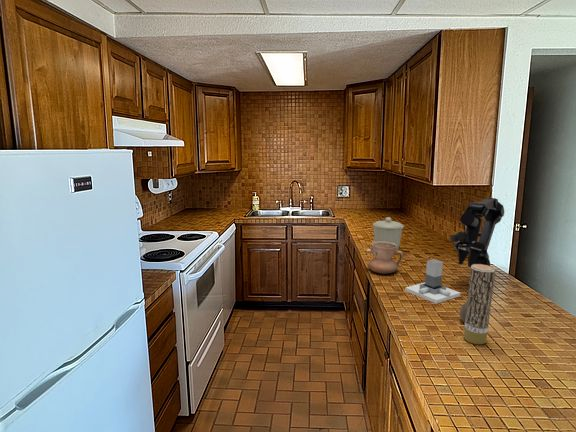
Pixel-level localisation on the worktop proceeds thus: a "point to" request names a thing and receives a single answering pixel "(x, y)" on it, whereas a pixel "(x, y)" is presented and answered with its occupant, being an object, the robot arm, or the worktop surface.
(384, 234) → the canister
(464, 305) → the vase
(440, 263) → the silver metal block
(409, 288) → the plate
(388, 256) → the ceramic jug
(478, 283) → the bark covered log
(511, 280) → the worktop surface
